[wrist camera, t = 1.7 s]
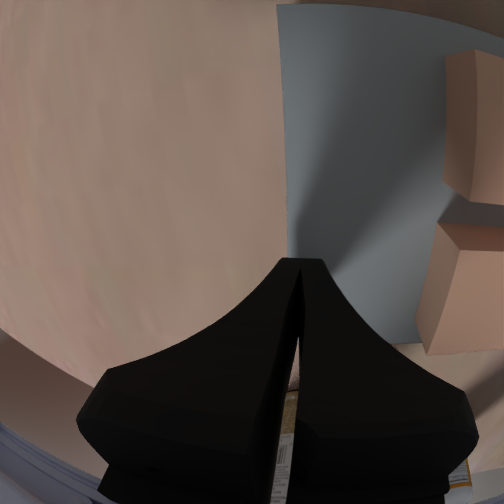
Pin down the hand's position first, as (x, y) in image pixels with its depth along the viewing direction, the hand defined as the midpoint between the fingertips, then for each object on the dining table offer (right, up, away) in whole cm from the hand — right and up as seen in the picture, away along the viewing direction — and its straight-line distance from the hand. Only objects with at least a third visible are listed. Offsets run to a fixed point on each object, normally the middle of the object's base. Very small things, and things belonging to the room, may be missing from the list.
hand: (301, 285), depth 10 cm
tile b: (+6, +5, -3) cm, 8 cm away
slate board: (+5, +4, +1) cm, 7 cm away
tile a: (+7, 0, 0) cm, 7 cm away
